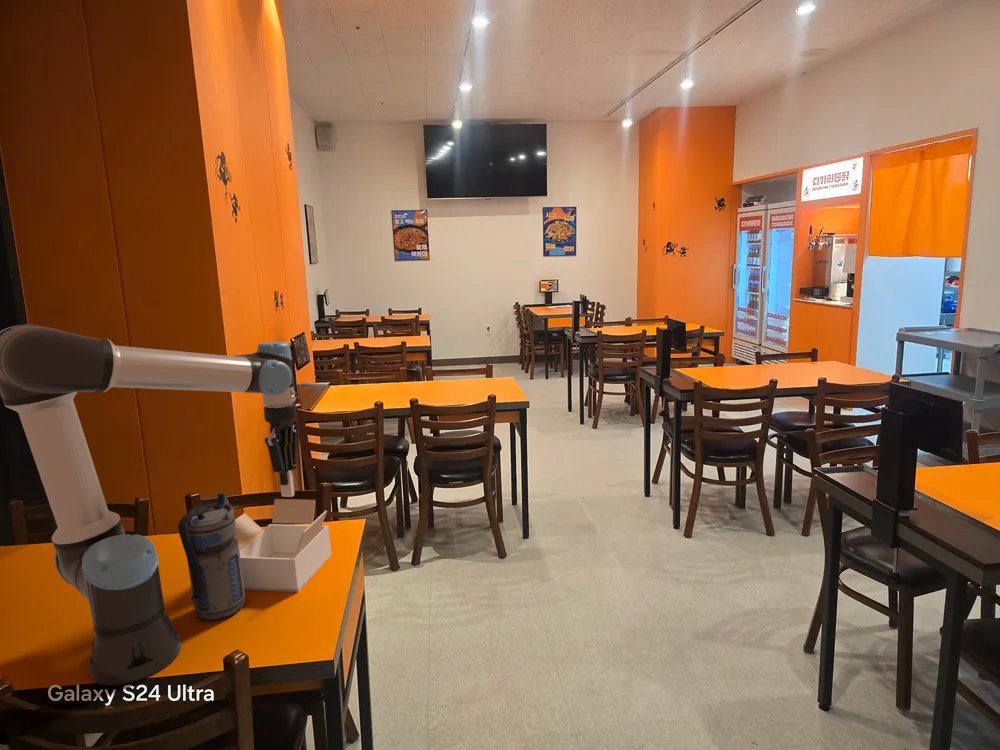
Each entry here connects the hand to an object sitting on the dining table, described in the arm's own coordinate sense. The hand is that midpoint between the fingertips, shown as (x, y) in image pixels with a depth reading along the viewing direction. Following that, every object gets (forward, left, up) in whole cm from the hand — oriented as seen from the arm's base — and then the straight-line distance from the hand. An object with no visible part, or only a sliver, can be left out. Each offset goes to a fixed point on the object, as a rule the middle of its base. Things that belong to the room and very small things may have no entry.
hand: (288, 495), depth 156 cm
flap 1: (+1, 0, -5) cm, 5 cm away
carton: (-9, 0, -16) cm, 18 cm away
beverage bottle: (-27, +4, -16) cm, 31 cm away
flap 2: (-10, -10, -5) cm, 15 cm away
